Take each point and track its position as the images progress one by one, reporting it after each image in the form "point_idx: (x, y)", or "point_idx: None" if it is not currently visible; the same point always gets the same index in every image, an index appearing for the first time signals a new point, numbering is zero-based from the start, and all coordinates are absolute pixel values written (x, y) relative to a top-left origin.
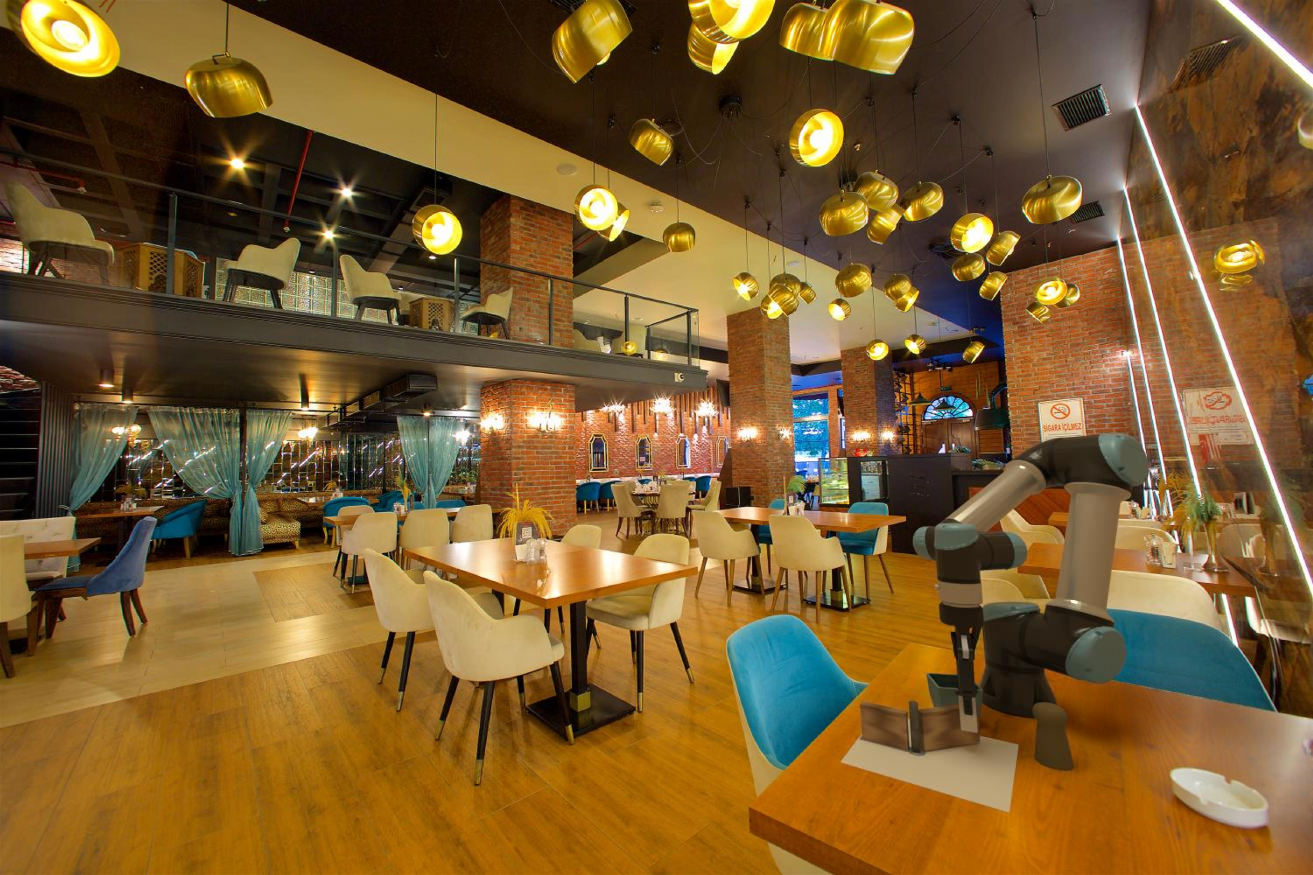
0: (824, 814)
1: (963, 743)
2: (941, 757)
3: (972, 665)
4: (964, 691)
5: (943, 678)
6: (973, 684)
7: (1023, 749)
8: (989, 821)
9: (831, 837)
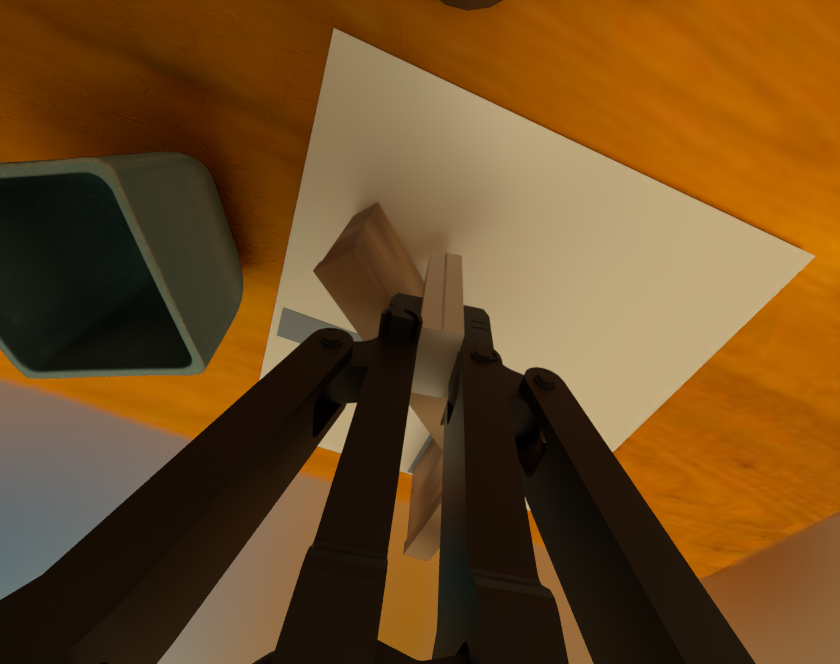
0: (703, 535)
1: (413, 266)
2: (500, 340)
3: (724, 631)
4: (541, 432)
5: (2, 299)
6: (603, 449)
7: (326, 3)
8: (794, 300)
9: (769, 534)
